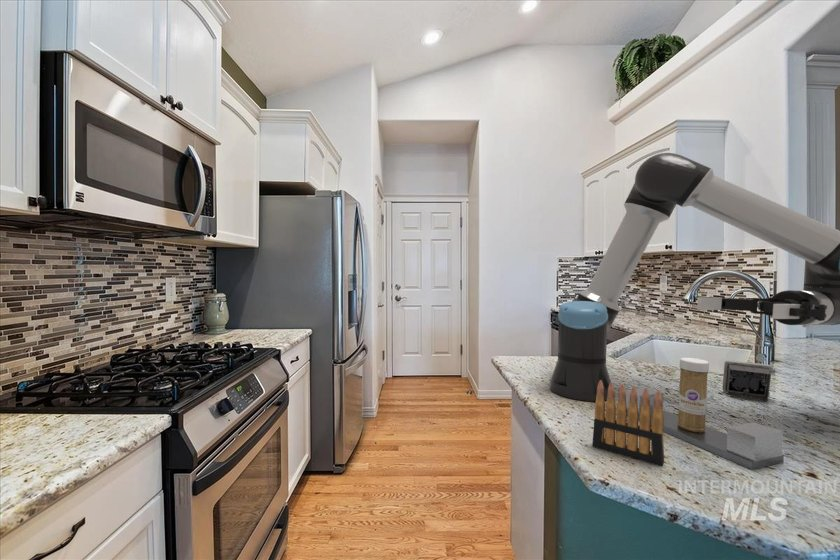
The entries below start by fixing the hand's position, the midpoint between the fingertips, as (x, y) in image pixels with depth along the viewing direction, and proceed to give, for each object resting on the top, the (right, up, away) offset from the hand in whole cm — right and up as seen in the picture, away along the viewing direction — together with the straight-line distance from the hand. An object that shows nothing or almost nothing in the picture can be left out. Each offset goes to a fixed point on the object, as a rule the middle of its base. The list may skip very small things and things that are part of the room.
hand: (733, 307), depth 75 cm
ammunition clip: (-27, -25, -11) cm, 39 cm away
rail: (-10, -25, -2) cm, 27 cm away
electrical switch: (+21, -25, +21) cm, 39 cm away
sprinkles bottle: (-10, -24, -2) cm, 26 cm away
